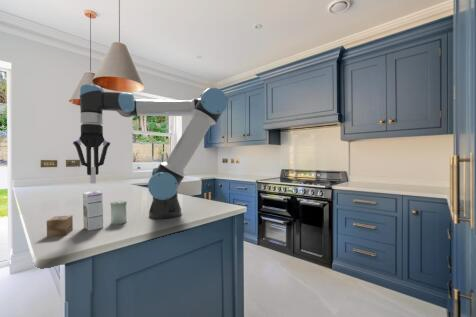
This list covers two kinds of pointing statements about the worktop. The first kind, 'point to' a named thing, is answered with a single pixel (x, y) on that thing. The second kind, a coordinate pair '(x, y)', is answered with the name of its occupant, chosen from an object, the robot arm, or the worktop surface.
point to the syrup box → (93, 210)
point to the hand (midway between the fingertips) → (93, 182)
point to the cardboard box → (59, 226)
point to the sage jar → (118, 212)
